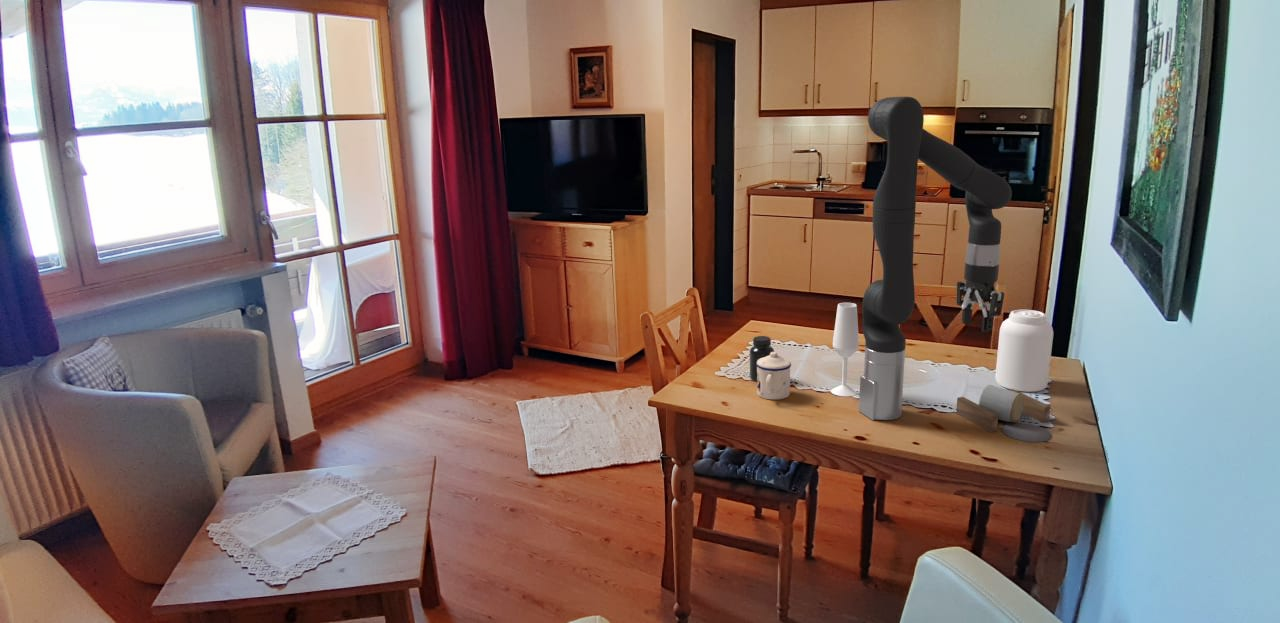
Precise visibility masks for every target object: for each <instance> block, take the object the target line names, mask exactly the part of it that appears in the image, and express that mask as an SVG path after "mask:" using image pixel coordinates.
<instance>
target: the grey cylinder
mask: <svg viewBox="0 0 1280 623" xmlns="http://www.w3.org/2000/svg"><path fill="white" fill-rule="evenodd" d="M978 405H980V406H982V407H984V408H986V409H988V410H989V411H991V412H993V413H995V414H997V415H998V420H1000V421H1003V422H1007V423H1017V422H1018V421H1019V420H1020V418H1021V416H1022V414H1023V413H1022V412H1023V408H1024V398H1023V396H1022V395H1020V394H1018V393H1016V392H1013V391H1010V390H1009V389H1007V388H1004V387H999V386H995V385H992V384H987V385H986V386H985V387H984V388H983V390H982V391H981V394H980V397H979V403H978Z"/></svg>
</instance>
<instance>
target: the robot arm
mask: <svg viewBox="0 0 1280 623" xmlns="http://www.w3.org/2000/svg"><path fill="white" fill-rule="evenodd" d="M867 122H868V126H869V128H870V130H871V132H872V133H873V134H874V135H875V136H877V137H878V138H881V139H883V140H884V141H886V142H887V157H886V164H885V165H886V166H885V169H884V172H883V173H882V176H881V178H880V181H879V183H878V186H877V188H876V189H875V190H876V191H875V193H874V196H873V202H872V231H873V235H874V240H875V242H876V245H877V246H876V247H877V249H878V252H879V254H880V258H881V262H882V271H883V272H882V279H878V280H874V281H873V282H871V283H870V284H869V285H868V287H866V290H865V291H864V293H863V297H862V310H861V311H862V334H863V337H864V339H865V341H864V342H865V343H864V344H865V346H864V365H863V366H864V367H863V374H862V375H860V378H859V397H858V398H859V401H858V402H859V403H858V412H860V413H861V414H863V415H864V416H865V417H867V418H869V419H870V420H872V421H874V420H875V421H876V420H880V421H893V420H897V419H899V418H900V417H902V411H903V410H902V409H903V408H902V407H903V394H904V393H903V392H904V376H905V375H904V374H905V358H906V344H907V339H906V337H905V335H904V333H903V332H902V330H901V328H900V326H899V325H902V324H905V323H906V322H907V321H908V320H909V318H911V316H912V314H913V312H914V309H915V302H916V300H915V298H916V297H915V296H916V295H915V294H916V293H915V280H914V279H915V278H914V277H915V276H914V247H915V246H914V242H915V240H914V239H915V224H916V208H917V207H916V205H917V202H916V200H917V199H916V196H917V195H916V194H917V181H918V179H917V178H918V166H919V165H918V162H919V161H920V162H922V163H923V164H924V165H926V166H928V167H929V169H931V170H933V171H934V172H935V173H936V174H937V175H939V176H940V177H941V178H943V179H944V180H945V181H946V182H948V183H949V184H950V185H952V186H953V187H954V188H956V189H958V190H961V191H965V195H964V199H965V200H964V201H965V209H966V214H967V220H968V225H969V228H968V238H967V239H968V240H967V246H966V251H965V259H964V260H965V261H964V273H963V274H964V275H963V279H964V281H957V282H956V306H960V308H961V310H962V313H961V324H963V325H971V324H972V320H973V307H974V305H975V304H976V303H977V304H978V307H979V309H981V311H982V315H983V316H982V322H981V332H984V333H987V332H991V331H992V329H993V323H994V322H993V321H994V317H1000V316H1001V315H1002V310H1003V304H1004V298H1005V293H1004V292H1003V291H997V290H996V289H995V284H996V282H998V281H999V270H1000V260H1001V237H1002V236H1001V235H1002V223H1001V221H1000V220H999V219H998V218H996V217H995V216H994V214H993V210H1000V209H1003V208H1005V207H1006V206H1007V205H1008V204H1009V203H1010V202H1011V200H1012V195H1013V193H1012V188H1011V186H1010V184H1009V183H1008V181H1006V180H1005V179H1004V178H1003V177H1001V176H1000V175H998V174H996V173H995V172H994V171H993V172H992V171H991V170H990V169H987V168H986V167H983V166H981V165H979V164H978V163H977V162H976V161H975V160H974V159H972V158H971V157H970V156H969V155H968V154H966V153H965V152H964V151H963V150H961V148H958V147H957V146H956V145H953V144H952V143H950V142H948V141H946V140H944V139H942V138H940V137H937V136H936V135H934V134H932V133H931V132H929V131H927V130H926V129H924V122H925V118H924V110H923V107H922V105H921V103H920V102H919V100H918V99H916V98H915V97H911V96H892V97H891V96H889V97H885V98H882V99H879V100H878V101H876V102H874V103H873V105H872V106H871V108H870V109H869V112H868V116H867ZM962 296H963V297H962Z"/></svg>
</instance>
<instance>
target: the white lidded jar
mask: <svg viewBox="0 0 1280 623" xmlns="http://www.w3.org/2000/svg"><path fill="white" fill-rule="evenodd" d="M1047 318H1048V317H1047V315H1046V313H1044V312H1042V311H1038V310H1033V309H1026V308H1025V309H1024V308H1023V309H1014V310H1011V311H1010V313H1009V315H1008V318H1006V319H1005V320H1003V321H1002V323H1001V325H1000V327H999V333H998V335H999V336H998V345H997V346H998V348H997V355H996V365H995V377H994V378H995V382H996V384H998V386H1000V387H1002V388H1004V389H1007V390H1009V389H1014V390H1016V391H1018V392H1027V393H1030V392H1031V393H1033V392H1041V391H1043V390H1045V389H1046V388H1047V386H1048V381H1049V373H1050V366H1051V357H1052V350H1053V349H1052V348H1053V340H1054V329H1053V326H1052V325H1051V324H1050V322H1049V321H1047V320H1048V319H1047Z"/></svg>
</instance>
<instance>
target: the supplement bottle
mask: <svg viewBox="0 0 1280 623" xmlns="http://www.w3.org/2000/svg"><path fill="white" fill-rule="evenodd" d="M771 339H772V338H771V337H770V336H766V335H758V336H755V337H753V339H752V340H753V341H752V347H750V349H749V378H750V379H751V381H753V382H756V383H757V365H756V363H757V361H758V360H759V359H760V358H763V357H766V356H769V355H770V353H771V352H775V349H774V348H773V347H772V346H771V345H772V343H771Z"/></svg>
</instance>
